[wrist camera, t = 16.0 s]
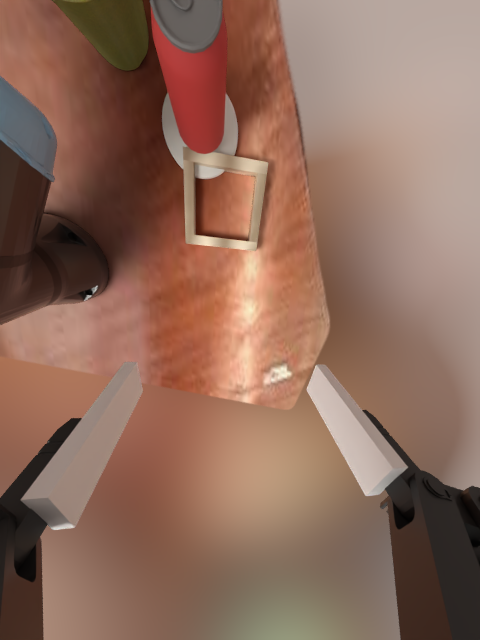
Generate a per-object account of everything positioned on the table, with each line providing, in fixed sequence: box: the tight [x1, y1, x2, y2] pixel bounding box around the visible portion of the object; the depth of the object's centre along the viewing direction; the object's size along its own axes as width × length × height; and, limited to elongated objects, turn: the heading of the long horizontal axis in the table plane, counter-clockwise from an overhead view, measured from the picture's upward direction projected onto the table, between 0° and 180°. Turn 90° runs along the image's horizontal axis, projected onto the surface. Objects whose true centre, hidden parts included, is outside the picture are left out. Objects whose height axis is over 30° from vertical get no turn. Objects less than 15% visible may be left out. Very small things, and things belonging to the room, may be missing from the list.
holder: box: [183, 147, 268, 251], centre depth 29 cm, size 13×13×2 cm
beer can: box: [150, 0, 227, 154], centre depth 19 cm, size 7×7×12 cm
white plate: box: [162, 92, 238, 179], centre depth 25 cm, size 11×11×1 cm
